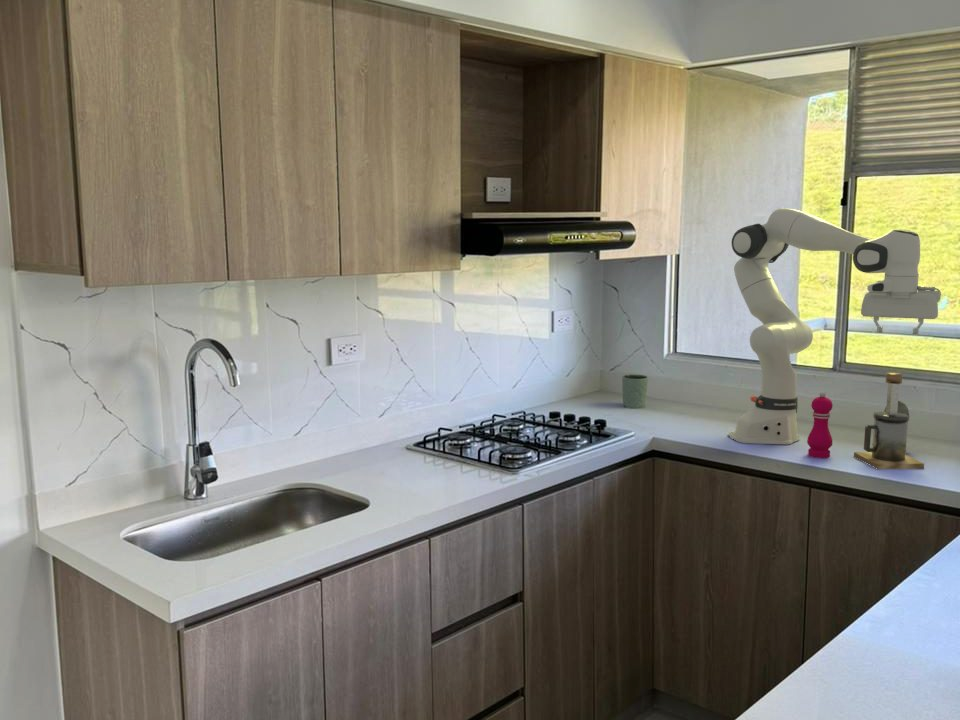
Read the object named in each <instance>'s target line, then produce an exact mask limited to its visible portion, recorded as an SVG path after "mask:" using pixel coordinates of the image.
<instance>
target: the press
mask: <svg viewBox="0 0 960 720" xmlns="http://www.w3.org/2000/svg"><path fill="white" fill-rule="evenodd" d="M872 416H873V418H874V419H873V424H867V425H865V426H864V440H863V441H864V443H863V450H864V451H865V452H872V457H873V458H875V459H878V460H883V461H891V462H900V461H904V460H905V455H907V454H906V453H907V452H906V451H907V441H908V440H907V439H908V426H909V421H910V414H909V415H906V414H902V413H897V415H889V414H886V412H884V411H876V412H874V413H873V415H872ZM872 430H873V431H872ZM872 432H873V435H872ZM871 437H872V447H871Z"/></svg>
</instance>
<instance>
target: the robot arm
mask: <svg viewBox="0 0 960 720" xmlns="http://www.w3.org/2000/svg"><path fill="white" fill-rule="evenodd" d="M789 246H791V247H793V248H797V249H800V250H805V251H812V252H823V251H824V252H825V251H826V252H828V251H829V252H831V251H832V252H833V251H834V252H843V253H847V254H850V255H852V261H853V265H854V267H855V269H857V270H858V271H860V272H861V273H865V274H882V273H884V279H882V280H877V281H875V282H871V283H868V284H867V288H866V290H867V291H868V292H866V293H865V294H864V297H863V300H862V303H861V309H860V314H861V316H862V317H865V318H866V317H867V318H868V317H870V318H871V317H873V323H874V324H875V326H876V333H877V334H878V333H879V334H880V333H881V334H883V329H884V327H883V326H881V325H880V324H879V321H880V318H889V319H890V318H893V319H914V320H916V319H917V320H918V324H917V325H916V327H912V335H919V329H920V328H921V326H922V325H923V324H924V320H935V319H937V318H938V316H939V304H938V303H939V302H940V301H941V299H942V298H941V297H942V296H941V295H942V292H941V290H940V289H939V288H937V287H935V286H922V285H921V286H920V285H919V278H920V277H919V269H918V267H919V263H920V259H921V241H920V236H919V234H918V233H917V232H915V231H913V230H910V229H909V230H908V229H902V228H893V229H890V230H889V231H888V232H886V233H885V234H883V235H882V236H879V237H877V238H870V237H868V236H864V235H862V234H858V233H854V232H853V231H849V230H846V229H845V228H844V229H843V228H842V227H839V226H837V225H835V224H833V223H830V222H828V221H827V220H824V219H822V218H820V217H818V216H816V215H813V214H811V213H808V212H805V211H802V210H797V209H792V208H785V207H783V208H782V207H781V208H777V209H775V210H773V212H772V213H771V214H770V215H769V217H768V220H767V222H766V223H764V224H761V223H755V224H751V225H747V226H743V227H741V228H739V229H737V230H736V231H735V233H733V236H732V238H731V248H732V251H733V252H734V254H735V255H736V256H738V257H739V258H740V259H738V260H737V261H736V262H735V263H734V267H733V270H734V276H735V279H736V283H737V286H738V288H739V290H740V293H741V295H742V297H743V300H744V301H745V304H746V306H747V308H748V311H749V313H750V314H751V315H752V316H753V317H755V319H757V320H758V321H760V322H761V323H762V325H760V326H758V327H755V329H753V331H752V332H751V334H750V336H749V344H750V347H751V350H752V351H753V352H754V354H756V356H757V358H758V361H759V365H760V370H761V393H760V395H759V396H756V395H751V396H750V397H749V398H750V402H753V403H755V404H754V407H752V408H751V409H749V410H748V411H746V412H745V413H744V414H742V415H740V416H739V417H738V419H737V421H736V426H735V429H734V430H730V431H729V432H728V437H729V436H730V437H731V438H730V437H729V438H730V439H731V440H733V439H734V440H733V441H735V440H736V442H739V443H743V444H756V445H757V444H759V445H761V444H762V445H791V444H793V443H795V442H799V440H800V436H799V432H798V423H797V413H798V406H799V404H798V403H799V402H798V397H797V392H798V391H797V390H798V373H797V371H796V370H795V369H794V368H793V365H792V362H791V355H793V354H797V353H800V352H802V351H804V350H806V349H807V348H809V347H810V346H811V344H812V342H813V338H814V335H813V331H812V328H811V327H810V326H809V324H807V323H806V322H804V321H802V320H801V319H800V318H799V317H798V316H797V315H796V313H794V311H793V310H792V309H791V308H790V307H789V305H788V304H787V303H786V301H785V300H784V298H783V297H782V294H781V292H780V291H779V288H778V286H777V285H776V282H775V280H774V279H773V276H772V275H771V272H770V270H769V264H772V263H775V262H776V261H777V259H779V257H781V256H782V255H783V254H784V253H785V252H786V251H787V250H788V248H789Z"/></svg>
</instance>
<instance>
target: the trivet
mask: <svg viewBox="0 0 960 720" xmlns="http://www.w3.org/2000/svg"><path fill="white" fill-rule="evenodd" d="M855 457H856V459H857V458H858V459H857V460H859V459H860V460H859V461H861V460H862V461H864V462H866V463H868V464H870V465H871V466H870V465H869V466H870V467H872V466H874V467H875V468H874V467H873V468H874V469H876V468H877V469H876V470H914V469H915V470H917V469H918V470H919V469H922V470H924V469H925V463H924V462H922V461H919V460H918V459H915V458H913V457H912V456H909V455H907V454H906V455H905V460H904V461H900V462H891V461H883V460H878V459H875V458H873V457H872V452H867V451H856V452H855V451H854V452H853V458H855ZM862 461H861V462H862ZM864 462H863V463H864ZM866 463H865V464H866ZM868 464H867V465H868Z"/></svg>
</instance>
